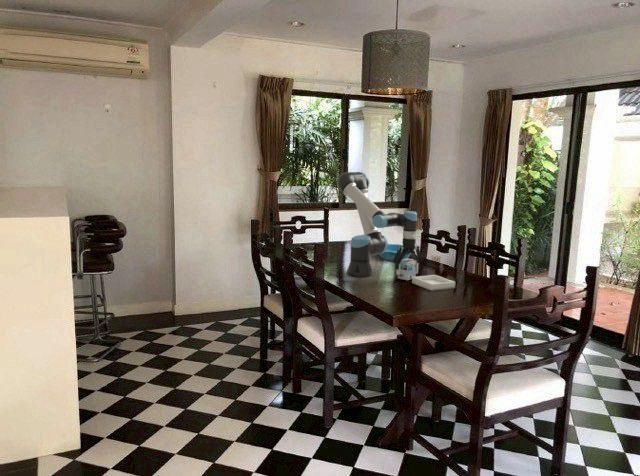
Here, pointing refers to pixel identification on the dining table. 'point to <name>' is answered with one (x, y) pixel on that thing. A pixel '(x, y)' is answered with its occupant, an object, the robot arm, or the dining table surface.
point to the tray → (433, 282)
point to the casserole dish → (392, 252)
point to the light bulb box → (407, 269)
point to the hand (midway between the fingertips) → (407, 274)
